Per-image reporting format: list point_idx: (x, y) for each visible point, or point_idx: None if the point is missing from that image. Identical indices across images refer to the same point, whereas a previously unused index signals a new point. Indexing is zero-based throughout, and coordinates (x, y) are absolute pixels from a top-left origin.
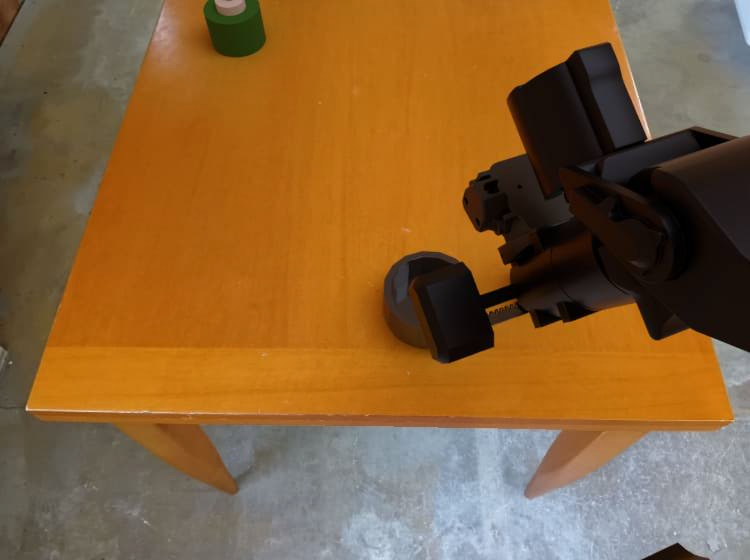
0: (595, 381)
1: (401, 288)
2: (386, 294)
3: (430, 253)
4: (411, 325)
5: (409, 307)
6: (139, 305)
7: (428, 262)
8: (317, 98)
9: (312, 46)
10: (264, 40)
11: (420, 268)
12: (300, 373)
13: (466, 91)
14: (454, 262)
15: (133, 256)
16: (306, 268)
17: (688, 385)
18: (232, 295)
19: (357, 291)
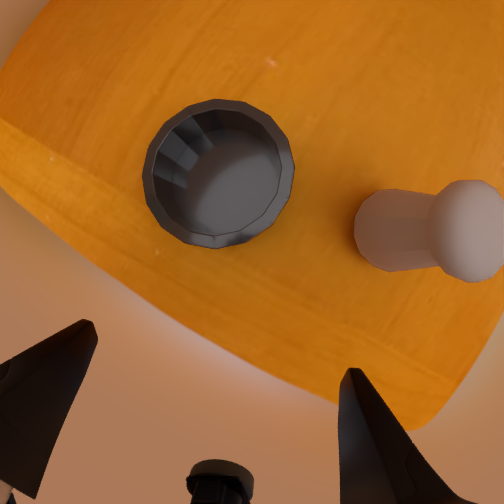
0: None
1: (208, 136)
2: (151, 149)
3: (254, 111)
4: (154, 215)
5: (201, 168)
6: (18, 82)
7: (249, 122)
8: None
9: None
10: None
11: (240, 123)
12: (65, 194)
13: None
14: (280, 144)
15: (38, 38)
16: (130, 70)
17: (421, 406)
18: (62, 85)
19: (161, 117)
